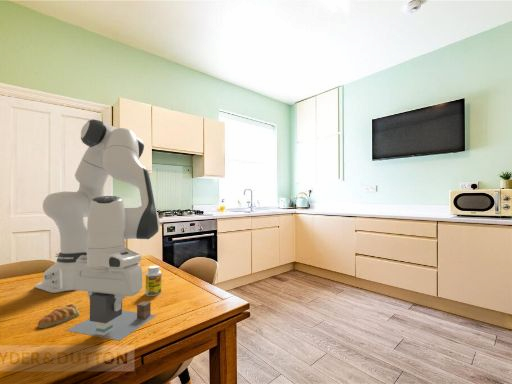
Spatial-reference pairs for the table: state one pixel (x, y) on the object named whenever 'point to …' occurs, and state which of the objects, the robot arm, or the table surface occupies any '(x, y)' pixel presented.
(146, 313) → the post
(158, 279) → the supplement bottle
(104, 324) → the post
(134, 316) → the mat
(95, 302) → the dark gray block
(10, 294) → the table surface
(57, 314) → the pastry
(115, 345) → the table surface
